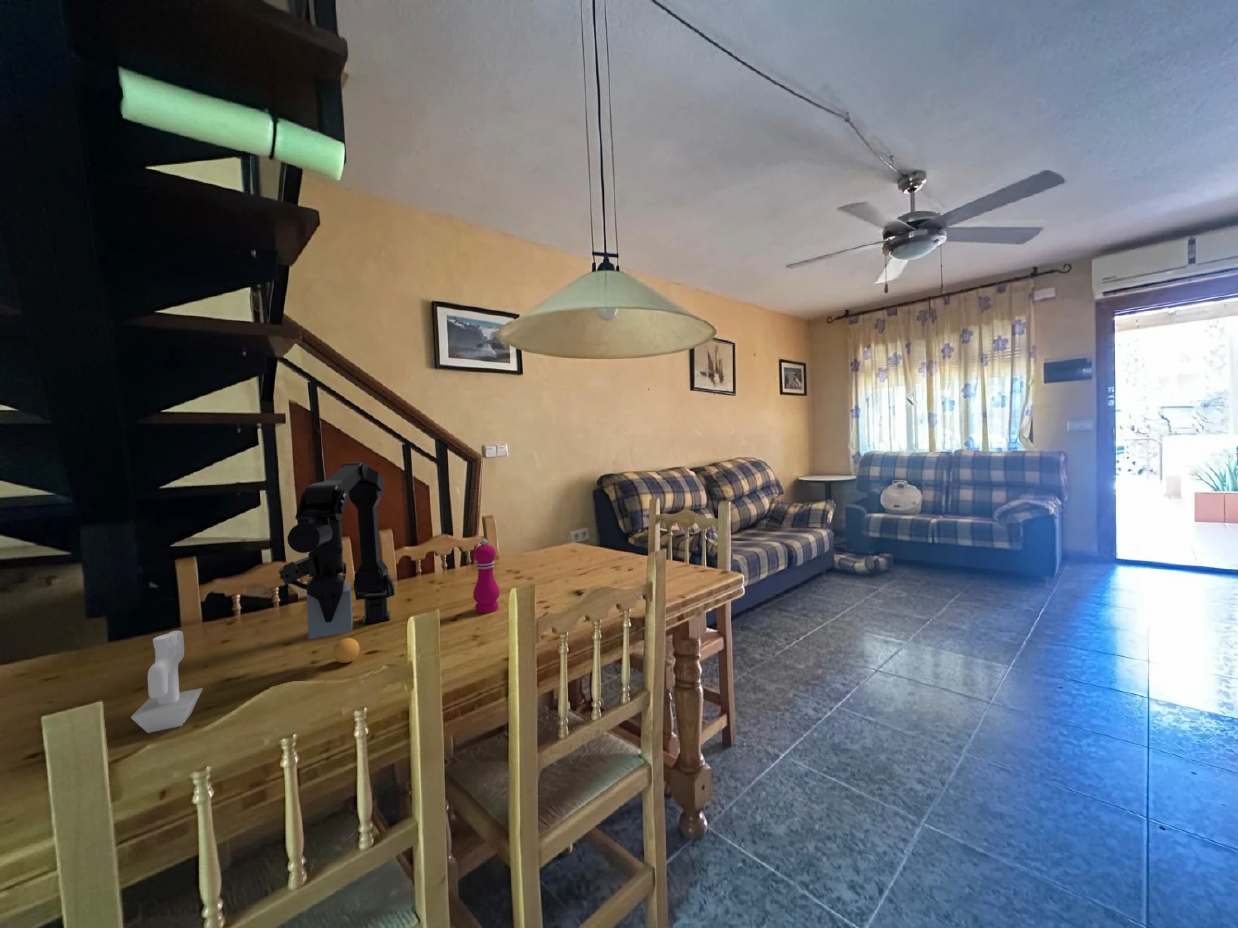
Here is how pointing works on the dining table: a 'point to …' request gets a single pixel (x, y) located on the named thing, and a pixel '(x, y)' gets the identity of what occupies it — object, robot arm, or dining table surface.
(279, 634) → the dining table surface
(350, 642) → the ball
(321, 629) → the slate grey cube
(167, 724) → the figurine
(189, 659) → the dining table surface
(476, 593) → the pepper mill
